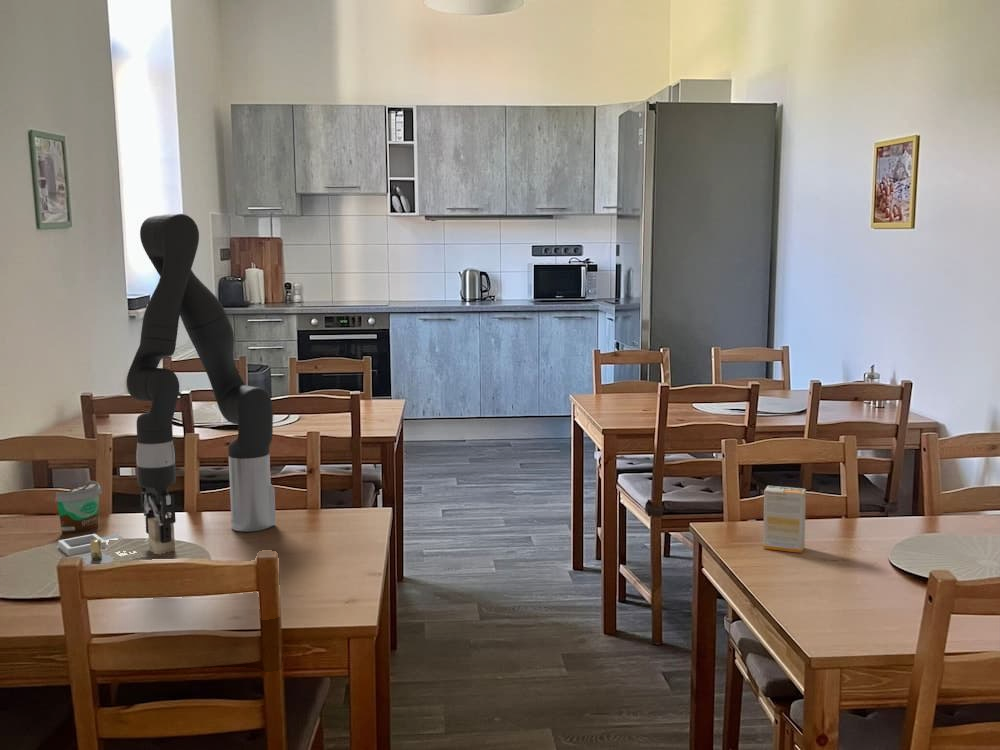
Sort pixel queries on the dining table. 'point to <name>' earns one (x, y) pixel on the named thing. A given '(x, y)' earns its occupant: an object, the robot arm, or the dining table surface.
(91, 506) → the food container
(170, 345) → the robot arm
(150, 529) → the square pin
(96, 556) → the pin
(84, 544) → the board
